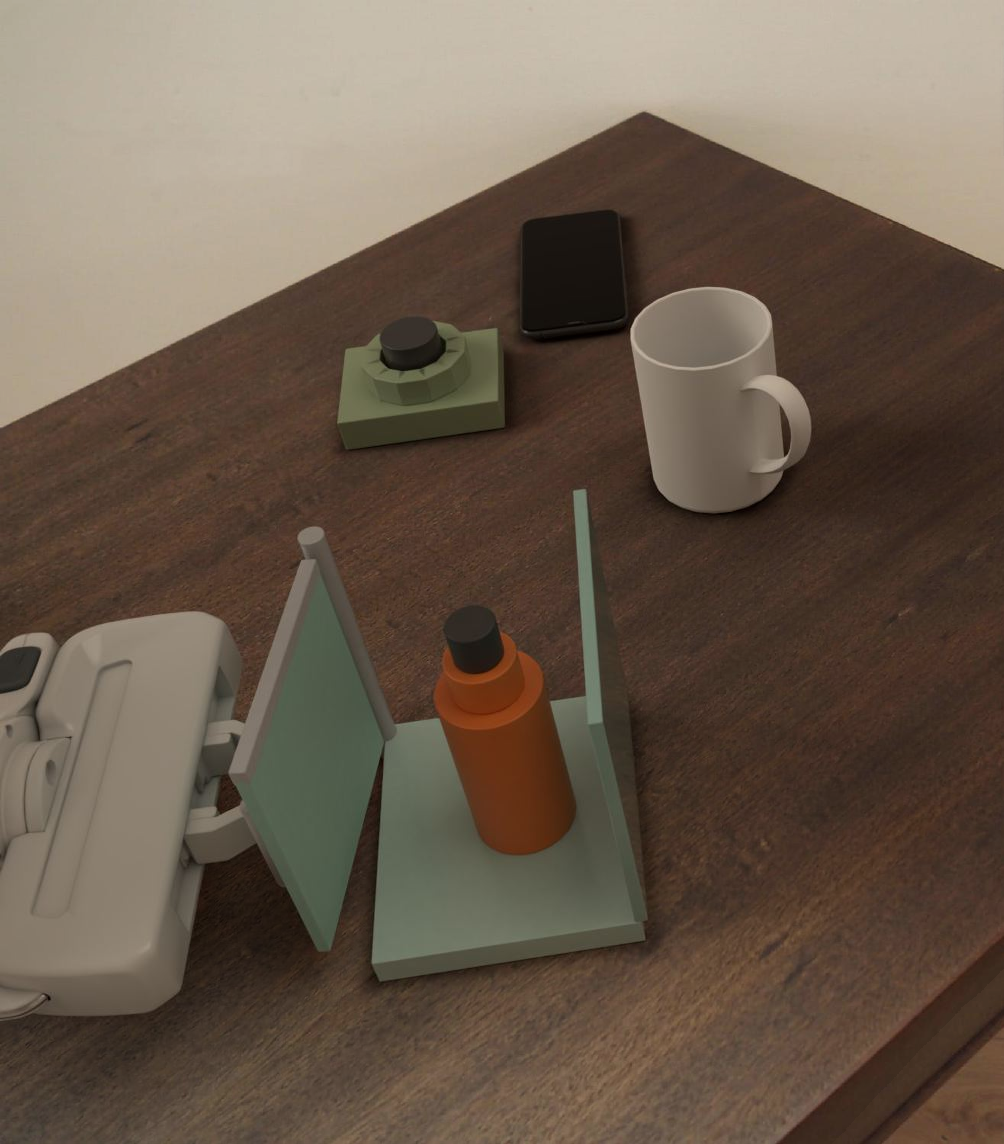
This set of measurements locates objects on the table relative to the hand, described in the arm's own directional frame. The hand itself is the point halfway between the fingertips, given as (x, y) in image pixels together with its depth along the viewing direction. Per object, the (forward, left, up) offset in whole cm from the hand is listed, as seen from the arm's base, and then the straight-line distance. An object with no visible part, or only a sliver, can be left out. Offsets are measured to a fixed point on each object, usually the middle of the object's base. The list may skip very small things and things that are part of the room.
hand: (309, 777), depth 70 cm
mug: (+22, +24, -7) cm, 33 cm away
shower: (+8, +1, -7) cm, 10 cm away
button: (+3, +37, -3) cm, 37 cm away
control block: (+3, +37, -7) cm, 37 cm away
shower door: (0, 0, -5) cm, 5 cm away
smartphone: (+13, +49, -7) cm, 51 cm away
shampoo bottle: (+9, +1, -6) cm, 10 cm away
